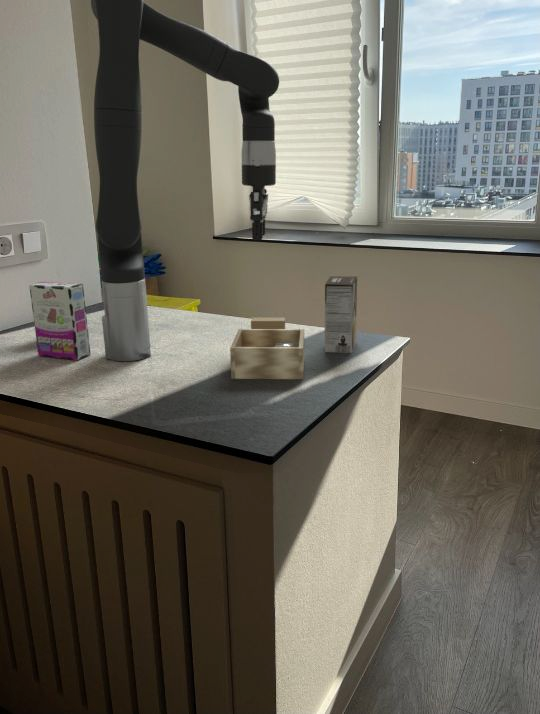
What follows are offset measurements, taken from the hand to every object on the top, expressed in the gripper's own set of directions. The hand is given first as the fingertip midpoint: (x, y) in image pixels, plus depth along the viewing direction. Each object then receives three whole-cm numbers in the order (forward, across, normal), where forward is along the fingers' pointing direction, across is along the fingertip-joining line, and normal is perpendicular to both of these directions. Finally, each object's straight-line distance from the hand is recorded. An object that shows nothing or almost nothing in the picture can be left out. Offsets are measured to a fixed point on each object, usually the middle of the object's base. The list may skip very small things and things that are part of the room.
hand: (258, 237), depth 146 cm
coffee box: (+24, +7, +19) cm, 32 cm away
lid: (+25, -2, +2) cm, 25 cm away
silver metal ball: (+24, +19, +7) cm, 31 cm away
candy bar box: (+26, +12, -43) cm, 51 cm away
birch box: (+24, +22, +4) cm, 33 cm away
